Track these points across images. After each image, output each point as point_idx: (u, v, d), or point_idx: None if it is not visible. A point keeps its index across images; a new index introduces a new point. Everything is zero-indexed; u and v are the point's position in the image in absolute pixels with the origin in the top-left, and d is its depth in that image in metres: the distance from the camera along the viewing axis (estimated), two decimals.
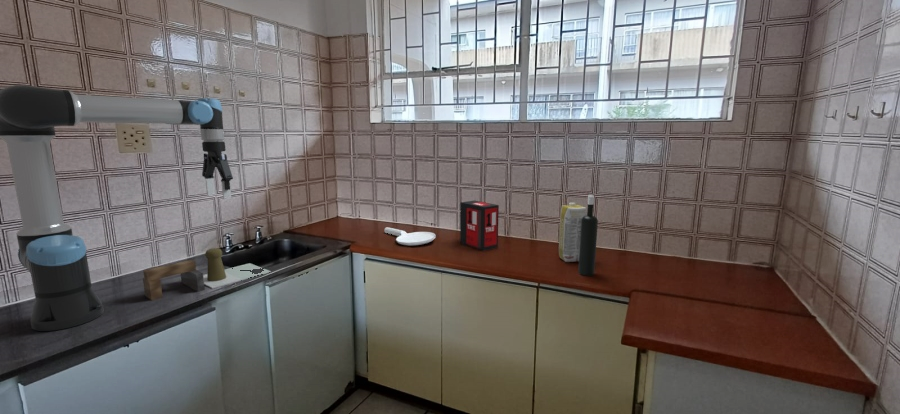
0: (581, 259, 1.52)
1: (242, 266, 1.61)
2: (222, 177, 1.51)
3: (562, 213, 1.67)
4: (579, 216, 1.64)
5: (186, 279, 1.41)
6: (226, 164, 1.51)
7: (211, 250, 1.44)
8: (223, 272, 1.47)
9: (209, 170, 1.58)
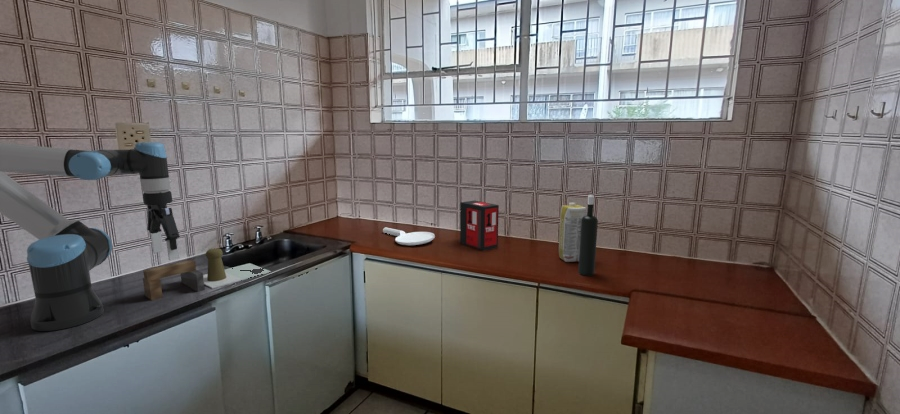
0: (581, 259, 1.52)
1: (242, 266, 1.61)
2: (167, 235, 1.27)
3: (562, 213, 1.67)
4: (579, 216, 1.64)
5: (186, 279, 1.41)
6: (171, 220, 1.27)
7: (212, 250, 1.44)
8: (223, 272, 1.47)
9: (154, 224, 1.34)
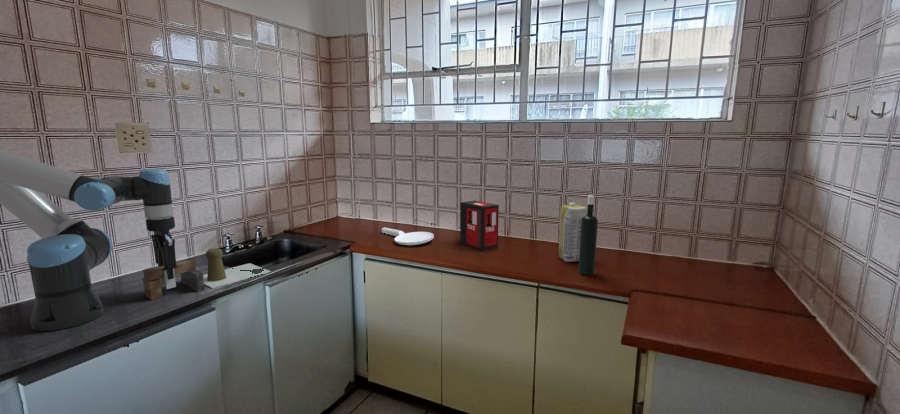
0: (581, 259, 1.52)
1: (242, 266, 1.61)
2: (164, 265, 1.31)
3: (562, 213, 1.67)
4: (579, 216, 1.64)
5: (186, 278, 1.41)
6: (172, 251, 1.30)
7: (212, 250, 1.44)
8: (223, 272, 1.47)
9: (160, 253, 1.34)
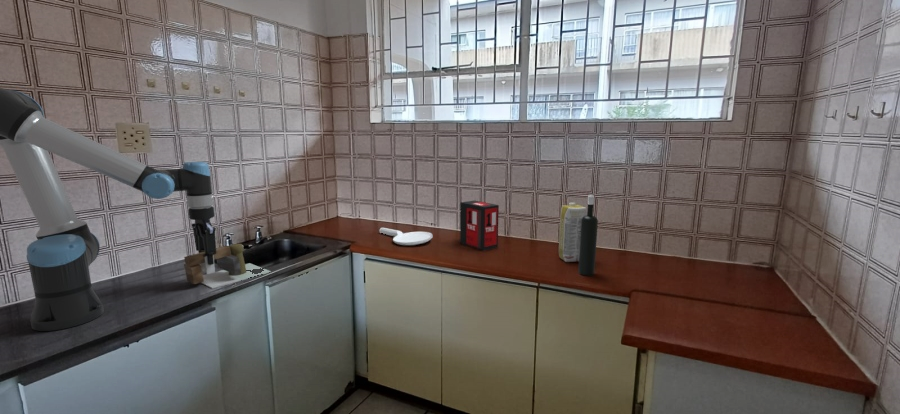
0: (581, 259, 1.52)
1: None
2: (205, 252, 1.41)
3: (562, 213, 1.67)
4: (579, 216, 1.64)
5: (222, 263, 1.50)
6: (212, 238, 1.39)
7: (233, 245, 1.50)
8: (244, 267, 1.53)
9: (201, 241, 1.43)
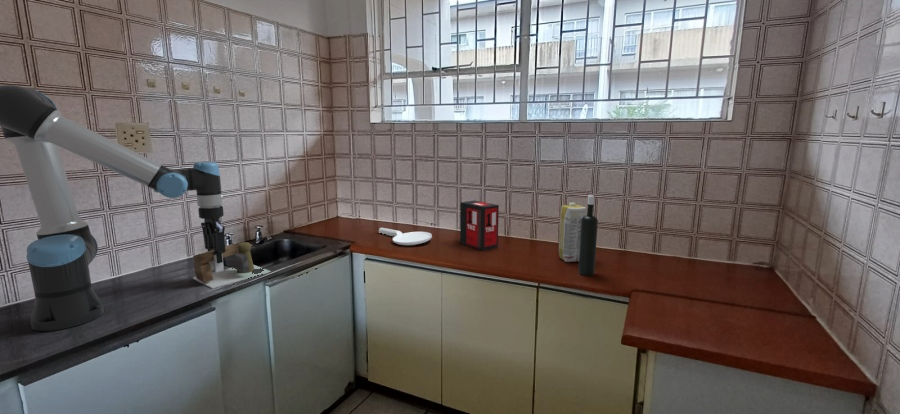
0: (581, 259, 1.52)
1: None
2: (215, 250, 1.43)
3: (562, 213, 1.67)
4: (579, 216, 1.64)
5: (231, 261, 1.53)
6: (222, 237, 1.42)
7: (241, 244, 1.52)
8: (252, 265, 1.55)
9: (210, 240, 1.46)
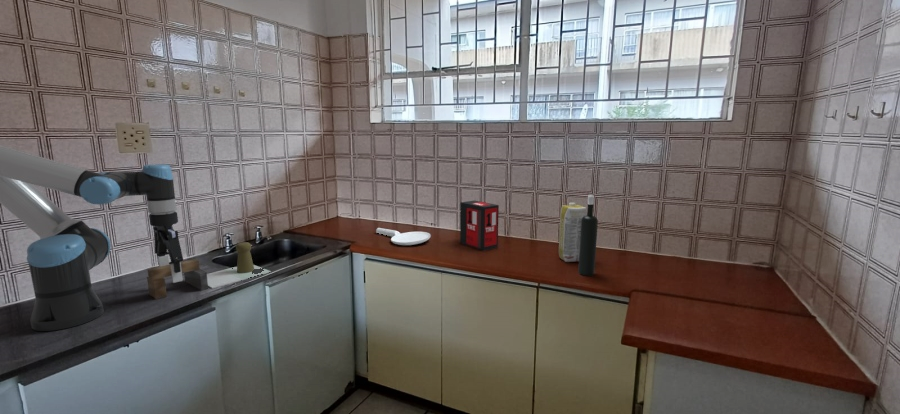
0: (581, 259, 1.52)
1: None
2: (171, 258, 1.30)
3: (562, 213, 1.67)
4: (579, 216, 1.64)
5: (190, 278, 1.42)
6: (176, 243, 1.29)
7: (241, 244, 1.53)
8: (252, 265, 1.55)
9: (161, 246, 1.36)
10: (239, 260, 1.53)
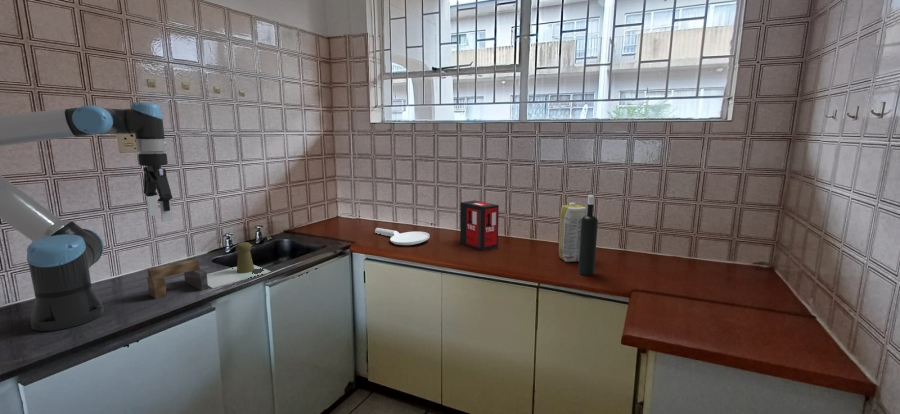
0: (581, 259, 1.52)
1: None
2: (160, 196, 1.27)
3: (562, 213, 1.67)
4: (579, 216, 1.64)
5: (190, 278, 1.42)
6: (165, 181, 1.27)
7: (241, 244, 1.52)
8: (252, 265, 1.55)
9: (150, 187, 1.34)
10: (239, 260, 1.53)
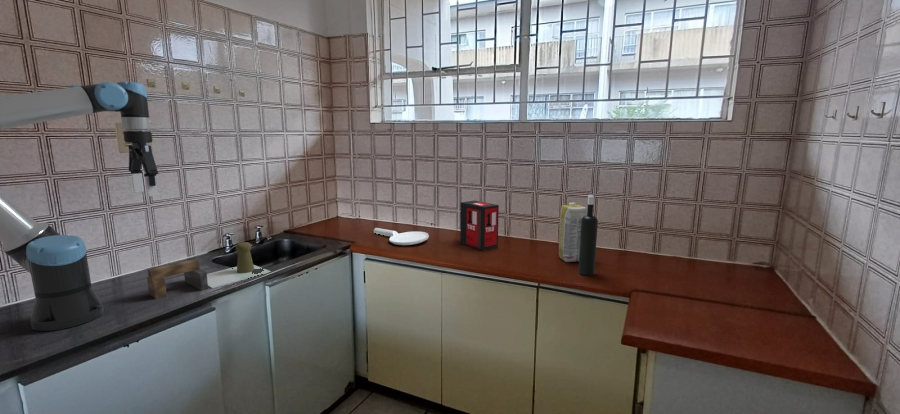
0: (581, 259, 1.52)
1: None
2: (146, 172, 1.32)
3: (562, 213, 1.67)
4: (579, 216, 1.64)
5: (190, 278, 1.42)
6: (150, 157, 1.33)
7: (241, 244, 1.52)
8: (252, 265, 1.55)
9: (135, 164, 1.40)
10: (239, 260, 1.53)
